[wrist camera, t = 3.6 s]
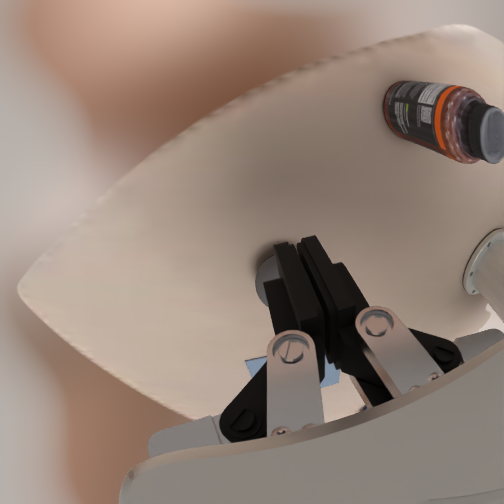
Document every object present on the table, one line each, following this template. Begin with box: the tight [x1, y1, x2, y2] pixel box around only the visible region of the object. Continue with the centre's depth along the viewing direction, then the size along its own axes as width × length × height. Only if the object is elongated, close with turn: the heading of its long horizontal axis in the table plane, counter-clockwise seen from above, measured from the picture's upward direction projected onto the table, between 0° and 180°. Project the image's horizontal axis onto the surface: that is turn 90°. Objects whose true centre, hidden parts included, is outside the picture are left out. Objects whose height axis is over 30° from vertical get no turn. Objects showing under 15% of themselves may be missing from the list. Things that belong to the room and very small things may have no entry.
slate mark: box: [245, 356, 340, 388], centre depth 40 cm, size 14×14×1 cm
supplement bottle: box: [384, 81, 504, 164], centre depth 15 cm, size 6×6×11 cm
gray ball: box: [255, 255, 280, 307], centre depth 26 cm, size 6×6×6 cm
